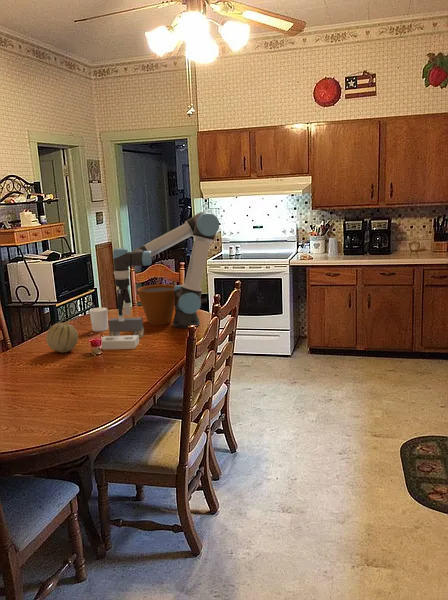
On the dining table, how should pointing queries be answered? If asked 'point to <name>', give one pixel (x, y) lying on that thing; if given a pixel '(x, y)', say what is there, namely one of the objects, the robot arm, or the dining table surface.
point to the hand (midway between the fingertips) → (124, 318)
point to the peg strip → (125, 325)
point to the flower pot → (157, 303)
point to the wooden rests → (138, 333)
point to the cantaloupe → (62, 337)
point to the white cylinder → (99, 319)
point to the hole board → (120, 342)
